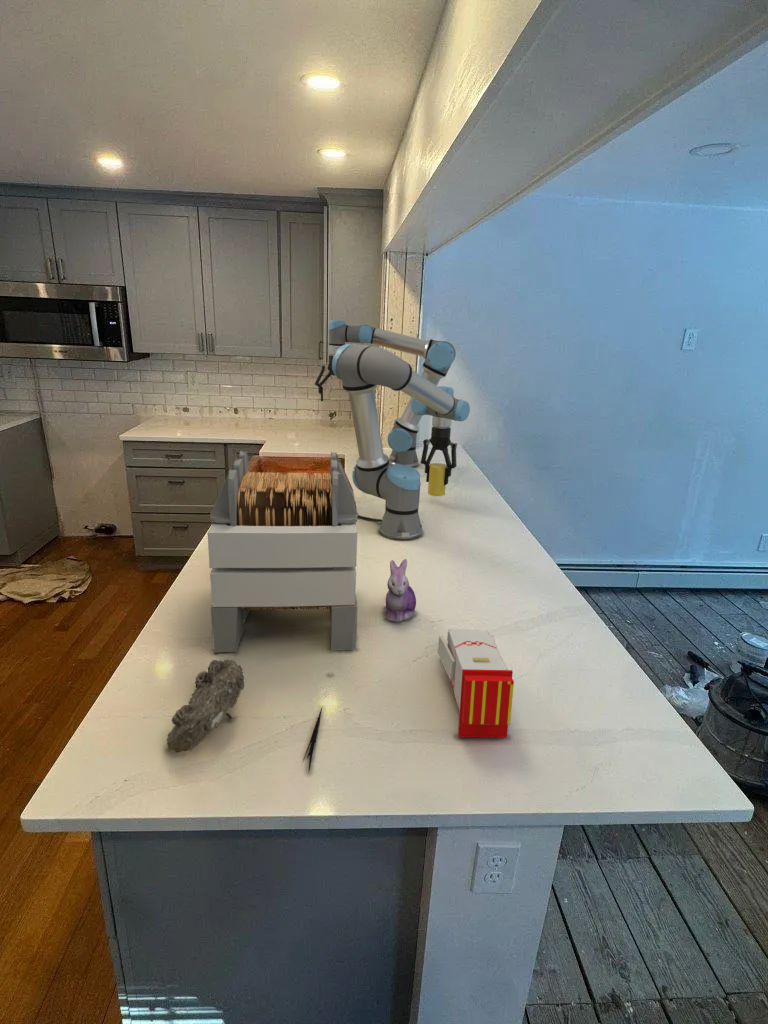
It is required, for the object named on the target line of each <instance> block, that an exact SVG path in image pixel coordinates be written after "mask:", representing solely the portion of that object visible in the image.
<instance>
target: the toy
mask: <svg viewBox="0 0 768 1024" xmlns="http://www.w3.org/2000/svg"><path fill="white" fill-rule="evenodd" d="M446 640H447V643H446V641H445V639H444V636H443V635H442V634H439V637H438V646H437V656H438V657H439V659H440V661H441V663H442V666H443V668H444V670H445V672H446V674H447V677H448V679H449V681H450V684H451V687H452V690H453V693H454V697H455V701H456V705H457V708H458V711H459V714H458V715H459V716H458V730H457V731H458V732H457V737H458V738H508V731H509V726H510V725H511V717H512V707H513V697H514V696H513V695H514V684H515V680H514V679H513V673H514V671H513V670H512V669H508V667H507V665H506V662H505V661H504V659H503V658H502V655H501V653H500V651H499V649H498V647H497V643H496V639H495V637H494V635H493V634H491V632H490V631H489V629H467V628H466V629H465V628H463V629H461V628H460V629H459V628H448V630H447V639H446Z"/></svg>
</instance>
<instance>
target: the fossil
mask: <svg viewBox="0 0 768 1024" xmlns="http://www.w3.org/2000/svg"><path fill="white" fill-rule="evenodd" d="M243 670H244V669H243V667H242V665H240V664H237V662H236V661H235V660H234V659H232V658H231V659H227V658H226V659H224V660H223V661H222V660H217V659H212V660H211V661H210V663H209V665H208V666H207V671H201V672H199V673H198V674H197V675H196V676H195V680H194V684H195V685H194V687H195V689H194V690H193V693H192V694H191V697H190V698H189V700H188V704H184V705H182V706H181V707H180V709H177V710H176V711H175V713H174V715H173V716H172V718H171V723H172V724H173V727H172V730H171V731H170V732H168V734H167V738H166V741H167V742H166V745H167V749H168V750H169V751H173V752H174V753H176V754H178V753H182V752H188V751H189V752H192V751H193V750H195V748H196V747H197V746H199V744H200V743H201V742H203V741H204V740H205V739H206V738H207V737H208V736H209V735H210V734H211V733H212V732H214V730H215V729H217V727H218V726H219V724H220V722H221V721H222V720H223V719H224V718H225V716H226V717H227V719H229V720H233V717H232V715H230V714H229V710H230V709H231V708H234V706H235V704H236V703H237V702H238V699H239V697H240V695H241V693H242V691H243V690H245V689H244V688H245V675H244V671H243Z"/></svg>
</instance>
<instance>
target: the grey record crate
mask: <svg viewBox="0 0 768 1024" xmlns="http://www.w3.org/2000/svg"><path fill="white" fill-rule="evenodd" d="M329 465H330V466H329V467H330V469H329V470H330V472H324V473H321V472H313V474H309V473H308V472H286V473H285V472H284V473H283V472H274V471H273V472H269V471H266V472H264V471H263V472H260V471H259V472H258V471H257V472H255V471H249V459H248V451H242V450H240V451H239V453H238V455H237V457H236V458H235V460H234V463H233V465H232V467H231V468H230V469H229V471H228V473H227V475H226V477H225V480H224V482H223V484H222V487H221V489H220V491H219V493H218V496H217V498H216V500H215V502H214V504H213V507H212V508H211V511H210V514H209V519H210V523H211V525H210V527H209V529H208V531H207V532H206V534H207V548H208V562H209V563H208V565H209V569H211V570H210V573H209V575H210V576H209V577H210V590H211V591H210V592H211V593H210V594H211V606H210V617H211V633H212V637H213V638H212V639H213V649H212V652H213V653H214V654H215V653H216V654H220V653H236V652H237V649H238V647H239V645H240V642H241V639H242V637H243V635H244V632H245V625H246V624H245V621H247V619H248V615H249V611H268V610H270V611H273V610H274V611H275V610H277V611H278V610H279V611H280V610H284V611H286V610H290V611H291V610H294V611H295V610H325V609H326V610H329V619H330V621H329V622H330V623H329V625H330V626H329V627H330V628H329V629H330V650H331V651H351V652H353V651H354V650H355V649H357V638H358V635H357V631H358V602H357V601H358V600H357V593H356V590H357V589H356V588H357V569H356V568H357V555H358V553H357V551H358V529H357V522H358V519H359V518H358V515H359V513H358V507H357V502H356V497H355V493H354V488H353V486H352V484H351V481H350V479H349V478H348V475H347V473H346V471H345V469H344V466H343V464H342V461H341V460H340V458H339V456H338V453H337V452H333V451H330V463H329Z"/></svg>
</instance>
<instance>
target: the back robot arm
mask: <svg viewBox="0 0 768 1024" xmlns="http://www.w3.org/2000/svg"><path fill="white" fill-rule="evenodd" d="M328 323H329V324H328V365H324V364H322V365H321V370H320V372H319V374H318V376H317V378H316V380H315V382H314V386H316V387H318V394H319V395H320V402H323V401H324V386H323V385H325V383H326V382H327V381H328V380H329V378H330V377H331V376H334V377H336V376H335V375H334V373H333V370H332V360H333V357H334V355H335V354H336V351H337V350H338V349H339V348H340V347H341V346H343V345H345V344H346V343H351V344H361V345H364V344H371V345H374V346H378V347H382V348H386V349H391V350H395V351H399V352H403V353H406V354H410V355H415V356H419V357H422V358H423V359H424V361H423V364H422V369H423V371H422V373H421V374H420V375H421V376H422V377H424V378H425V379H427V380H428V381H430V382H431V383H433V384H434V385H436V386H437V387H438V386H439V383H440V382H441V379H443V378H446V376H447V374H448V372H449V370H450V369H451V367H452V365H453V363H454V361H455V360H456V356H457V355H456V349H455V347H454V345H453V344H452V343H451V342H449V341H446V340H435V339H432V338H429V339H428V340H426V339H421V338H418V337H414V336H410V335H407V334H402V333H398V332H394V331H390V330H385V329H382V328H378V327H374V326H371V325H368V324H362V325H352V324H351V325H349V324H346V323H347V322H346V321H345V320H342V319H331V320H329V322H328ZM327 370H328V373H327V374H326V375H325V377H323V376H324V373H325V371H327ZM322 377H323V379H322ZM412 399H413V398H412V397H411V396H410V398H409V400H408V402H407V405H406V406H405V408H404V411H403V413H402V415H401V416H400V417H398V418H396V419H394V420H393V426H392V427H391V428H392V429H391V430H390V432H389V433H388V434H387V444H388V446H389V448H390V449H391V453H390V454H389V457H388V459H389V465H390V466H391V465H396V464H399V465H404V466H405V465H406V466H410V467H412V468H414V469H415V468H418V466H419V458H418V455H417V436H418V433H419V431H420V428H419V423H420V422H421V419H422V417H423V416H422V415H416V414H414V412H413V411H412V409H411V401H412ZM348 401H349V402H350V399H349V398H348Z"/></svg>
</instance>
